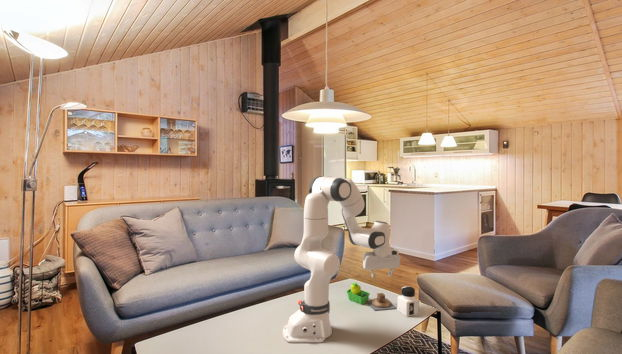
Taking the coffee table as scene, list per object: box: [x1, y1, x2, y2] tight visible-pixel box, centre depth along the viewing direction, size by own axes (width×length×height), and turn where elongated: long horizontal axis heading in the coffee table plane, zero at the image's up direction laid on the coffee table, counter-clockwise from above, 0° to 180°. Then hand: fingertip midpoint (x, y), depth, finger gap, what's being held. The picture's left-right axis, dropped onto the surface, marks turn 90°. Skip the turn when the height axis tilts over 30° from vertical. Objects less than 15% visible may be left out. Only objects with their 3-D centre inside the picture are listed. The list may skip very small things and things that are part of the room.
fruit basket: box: [346, 282, 370, 306], centre depth 182 cm, size 11×9×11 cm
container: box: [396, 285, 420, 318], centre depth 168 cm, size 8×8×13 cm
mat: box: [366, 297, 397, 312], centre depth 177 cm, size 12×12×1 cm
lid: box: [371, 292, 392, 308], centre depth 177 cm, size 10×10×5 cm
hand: (381, 276), depth 177 cm, fingers open, 8 cm apart
